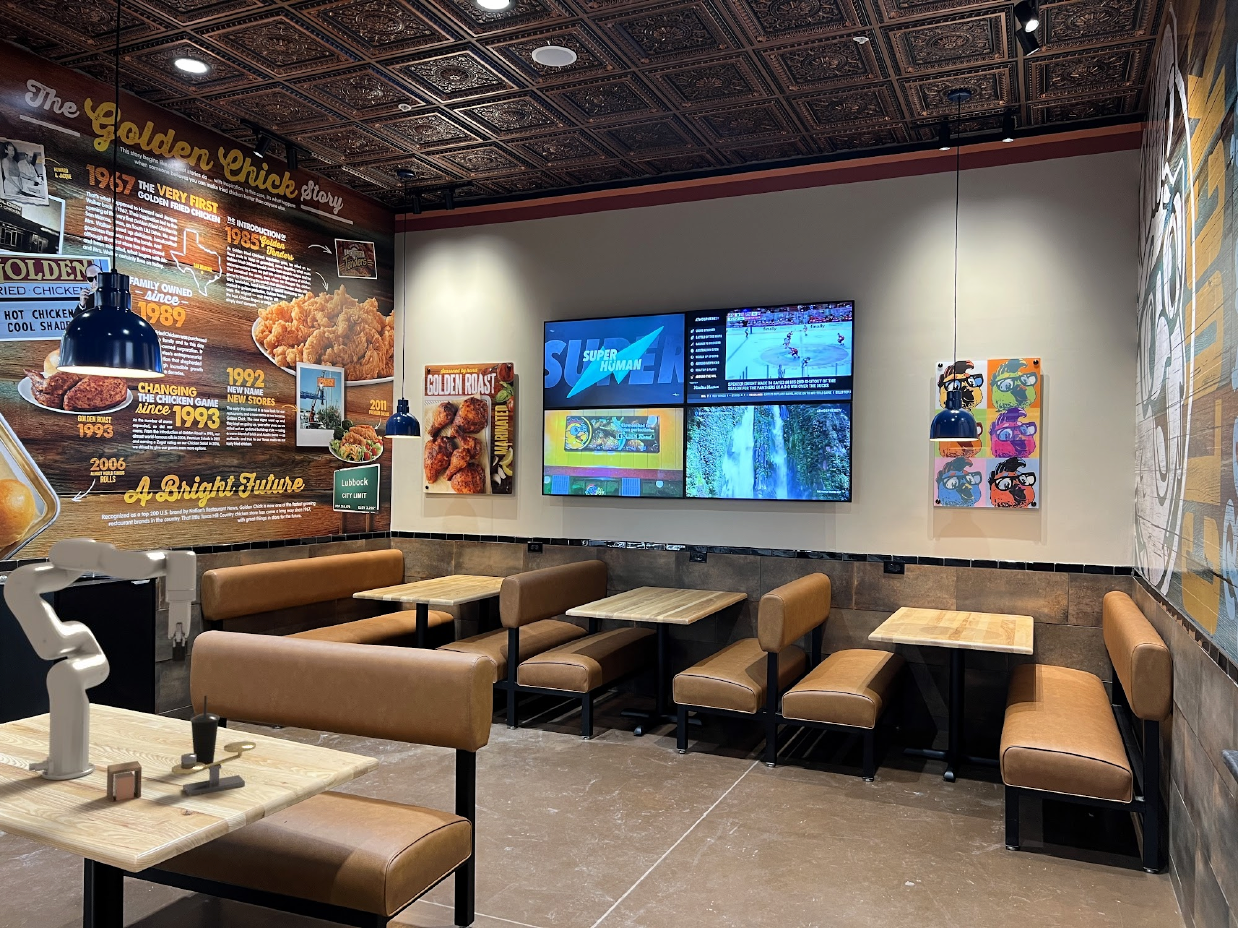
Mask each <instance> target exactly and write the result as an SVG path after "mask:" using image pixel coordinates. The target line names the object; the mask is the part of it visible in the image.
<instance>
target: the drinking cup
mask: <svg viewBox="0 0 1238 928" xmlns="http://www.w3.org/2000/svg"><path fill="white" fill-rule="evenodd" d="M203 697H204V699H203V712H202V713H200V714H197V715H195V716H193V717H191V718H190V723H191V736H192V748H193V753H194V754H196V762H200V763H204V764H205V765H208V764H211V763H214V762H215V761H214V760H215V751H216V743H217V733H218V727H219V726H218V724H219V720H220V716H219V715H218V714H214V713H212V712H211V713H210V712H209V713H208V712H207V709H208V708H207V706H208V705H207V704H208V703H207V701H208V696H207V695H204V696H203Z"/></svg>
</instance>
